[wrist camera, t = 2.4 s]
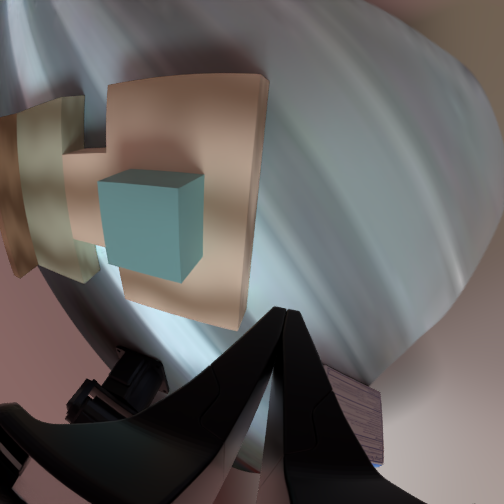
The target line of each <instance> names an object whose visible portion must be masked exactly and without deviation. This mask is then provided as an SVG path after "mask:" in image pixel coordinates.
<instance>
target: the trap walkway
mask: <svg viewBox="0 0 504 504" xmlns="http://www.w3.org/2000/svg"><path fill="white" fill-rule="evenodd" d="M268 91H269V81H268V80H267V79H266V78H265V77H263V76H262V75H261V74H244V73H207V74H186V75H173V76H163V77H154V78H147V79H140V80H133V81H127V82H122V83H116V84H111V85H108V91H107V113H106V148H84V101H85V95H83V96H69V97H61V98H57V99H54V100H51V101H48V102H45V103H43V104H40V105H37V106H34V107H32V108H29V109H27V110H24V111H22V112H19V113H17V114H12V115H8V116H4V117H0V230H1V234H2V238H3V242H4V245H5V249H6V252H7V255H8V258H9V261H10V264H11V267H12V270H13V273H14V275H15V276H16V277H18V278H22V277H23V276H24V275H26V274H27V273H28V272H30V271H31V270H32V269H33V268H35V267H36V266H38V265H40V266H43V267H45V268H47V269H49V270H52V271H54V272H56V273H59V274H61V275H64V276H66V277H69V278H71V279H73V280H76V281H78V282H81V283H86V282H87V281H88V280H89V279H90V278H91V277H93V276H94V275H95V274H96V273H97V272H98V271H100V267H99V262H98V257H97V252H96V247H95V245H99V246H102V247H105V241H104V235H103V228H102V221H101V213H100V205H99V195H98V184H97V181H99V180H102V179H104V178H107V177H110V176H112V175H115V174H117V173H120V172H123V171H125V170H128V169H143V170H159V171H172V172H183V173H194V174H204V175H205V177H204V210H203V257H202V258H201V260H200V261H199V262H198V263H197V265H196V266H195V267H194V268H193V270H192V271H191V272H190V273H189V275H188V276H187V277H186V278H185V280H184V281H183V282H182V284H181V283H177V282H173V281H169V280H165V279H162V278H158V277H154V276H150V275H147V274H143V273H139V272H136V271H132V270H129V269H125V268H121V267H119V271H120V276H121V281H122V286H123V290H124V295H125V299H127V300H130V301H133V302H136V303H139V304H142V305H145V306H149V307H152V308H155V309H158V310H161V311H165V312H168V313H171V314H175V315H178V316H181V317H185V318H188V319H192V320H196V321H199V322H203V323H207V324H210V325H214V326H218V327H222V328H226V329H230V330H234V331H238V329H239V326H240V324H241V321H242V319H243V316H244V314H245V311H246V307H247V297H248V288H249V278H250V268H251V258H252V248H253V238H254V229H255V219H256V209H257V199H258V189H259V179H260V170H261V160H262V150H263V140H264V130H265V120H266V110H267V101H268Z"/></svg>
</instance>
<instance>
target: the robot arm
mask: <svg viewBox="0 0 504 504" xmlns="http://www.w3.org/2000/svg"><path fill="white" fill-rule="evenodd" d="M285 315H286V316H285ZM115 349H116V352H117V355H118V357H119V361H118V362H117V363H116V365H115V366H114V368H113V369H112V370H111V372H110V373H109V376H108V377H107V379H106V380H105V381H104V383H103V384H102V386H101V385H100V384H98V383H97V381H96V380H95V379H93V380H92V381H91V380H89V379H86V380H85V381H84V383H83V384H82V385H81V387H80V388H79V389H78V390H77V392H76V393H75V394H74V395H73V397H72V398H71V399H70V400H69V401H68V403H67V404H66V405H67V410H68V412H67V416H66V418H65V420H67V421H68V422H69V423H70V424H50V423H45V422H41V421H39V420H37V419H35V418H33V417H32V416H31V415H30V414H29V413H28V412H27V411H26V410H24V409H23V408H22V407H21V406H20V405H19V404H18V403H15V402H14V403H3V404H0V504H212V503H213V502H214V500H215V498H216V496H217V494H218V492H219V490H220V488H221V486H222V484H223V481H224V480H225V478H226V476H227V474H228V472H229V470H230V468H231V466H232V464H233V462H234V460H235V458H236V455H237V453H238V451H239V449H240V447H241V445H242V443H243V440H244V438H245V436H246V434H247V432H248V429H249V427H250V425H251V422H252V420H253V418H254V416H255V413H256V411H257V409H258V406H259V404H260V401H261V399H262V397H263V394H264V392H265V389H266V387H267V384H268V382H269V379H270V377H271V374H272V371H273V374H272V382H271V391H270V401H269V410H268V419H267V427H266V436H265V444H264V452H263V459H262V467H261V474H260V481H259V490H258V495H257V501H256V504H427V503H425V502H423V501H421V500H419V499H418V498H415V497H414V496H412V495H411V494H409V493H407V492H406V491H404V490H402V489H401V488H399V487H397V486H396V485H394V484H393V483H391V482H390V481H388V480H386V479H385V478H384V477H383V476H382V475H381V474H380V473H379V472H378V471H377V470H376V469H375V467H374V466H373V464H372V463H371V461H370V459H369V458H368V456H367V454H366V453H365V451H364V449H363V447H362V446H361V444H360V442H359V441H358V439H357V437H356V435H355V434H354V432H353V430H352V428H351V427H350V425H349V423H348V421H347V419H346V417H345V415H344V413H343V411H342V409H341V407H340V404H339V402H338V400H337V397H336V395H335V393H334V391H332V390H333V388H332V386H331V383H330V381H329V378H328V376H327V374H326V371H325V369H324V367H323V364H322V362H321V359H320V357H319V355H318V352H317V350H316V348H315V345H314V343H313V341H312V338H311V336H310V334H309V331H308V329H307V327H306V324H305V322H304V320H303V318H302V315H301V313H300V312H299V311H296V310H291V309H288V310H287V311H286V309H285V308H281V307H276V306H275V307H273V308H272V309H271V310H270V311H269V312H267V313H266V314H265V315H264V316H263V317H262V318H261V319H260V320H259V321H258V322H257V323H256V324H255V325H254V326H253V327H251V328H250V329H249V330H248V331H247V332H246V333H245V334H244V335H243V336H242V337H241V338H240V339H238V340H237V341H236V342H235V343H234V344H233V345H232V346H231V347H230V348H228V349H227V350H226V351H225V352H224V353H223V354H222V355H221V356H219V357H218V358H217V359H216V360H215V361H214V362H213V363H211V366H208V367H207V368H206V369H204V370H203V371H202V372H201V373H200V374H198V375H197V376H196V377H195V378H193V379H192V380H191V381H190V382H188V383H187V384H185V385H184V386H182V387H181V388H179V389H178V390H176V391H175V392H173V393H172V394H170V395H168V396H167V397H165V398H163V399H162V400H160V401H158V402H157V403H155V404H153V405H152V406H150V404H151V402H152V401H153V399H154V397H155V395H156V393H157V392H158V391H161V392H163V393H166V394H168V393H169V387H168V384H167V380H166V376H165V372H164V368H163V365H162V364H161V363H160V362H158V361H155V360H153V359H150V358H147V357H145V356H142V355H140V354H137V353H135V352H132V351H130V350H128V349H125V348H123V347H121V346H117V347H116V348H115ZM275 359H276V360H275ZM274 363H275V364H274ZM273 367H274V368H273ZM89 394H90V395H91V396H92V397H94V399H92V398H90V397H89V396H88V395H89ZM149 406H150V407H149Z"/></svg>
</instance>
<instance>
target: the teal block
mask: <svg viewBox="0 0 504 504" xmlns="http://www.w3.org/2000/svg"><path fill="white" fill-rule="evenodd" d="M204 177H205V175H204V174H194V173H183V172H172V171H159V170H143V169H128V170H125V171H123V172H120V173H117V174H115V175H112V176H110V177H107V178H104V179H102V180H99V181H97V184H98V195H99V205H100V213H101V221H102V228H103V235H104V241H105V247H106V252H107V258H108V263H109V264H111V265H115V266H118V267H121V268H125V269H129V270H132V271H136V272H139V273H143V274H147V275H150V276H154V277H158V278H162V279H165V280H169V281H173V282H177V283H181V284H182V282H183V281H184V280H185V278H186V277H187V276H188V275H189V273H190V272H191V271H192V270H193V268H194V267H195V266H196V265H197V263H198V262H199V261H200V260H201V258H202V257H203V210H204Z"/></svg>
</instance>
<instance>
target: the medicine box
mask: <svg viewBox="0 0 504 504" xmlns="http://www.w3.org/2000/svg"><path fill="white" fill-rule="evenodd" d="M323 367H324V369H325V371H326V374H327V376H328V378H329V381H330V383H331V386H332V388H333V390H332V391H334V393H335V395H336V397H337V400H338V402H339V404H340V407H341V409H342V411H343V413H344V415H345V417H346V419H347V421H348V423H349V425H350V427H351V428H352V430H353V432H354V434H355V435H356V437H357V439H358V441H359V442H360V444H361V446H362V447H363V449H364V451H365V453H366V454H367V456H368V458H369V459H370V461H371V463H372V464H373V466H374V467H375V468H377V467H379V466H382V465H383V462H384V446H383V445H384V444H383V420H382V404H381V394H380V392H379V391H376V390H374V389H372V388H370V387H368V386H366V385H364V384H362V383H360V382H358V381H356V380H354V379H352V378H350V377H348V376H346V375H344V374H342V373H340V372H338V371H336V370H334V369H332V368H330V367H328V366H327V365H323Z"/></svg>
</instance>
